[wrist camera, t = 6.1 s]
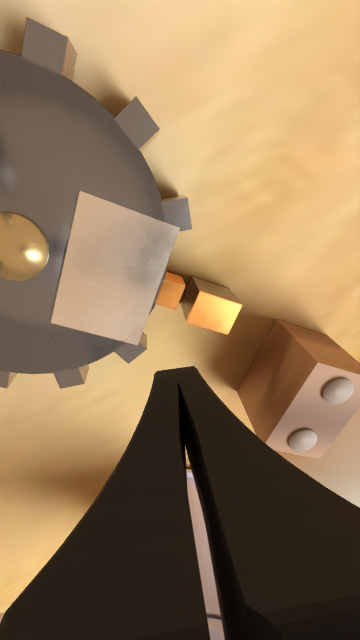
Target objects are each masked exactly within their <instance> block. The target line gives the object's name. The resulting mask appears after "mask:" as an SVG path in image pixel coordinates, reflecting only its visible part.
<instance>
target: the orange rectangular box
mask: <svg viewBox="0 0 360 640" xmlns="http://www.w3.org/2000/svg"><path fill="white" fill-rule="evenodd" d="M181 306H182V309H183V312H184V316H185V319H186V322H187V323H190V324H193V325H196V326H200V327H203V328H207V329H210V330H213V331H217V332H220V333H223V334H227V335H228V333H229V331H230V329H231V327H232V325H233V323H234V321H235V319H236V317H237V315H238V313H239V311H240V309H241V307H242V304H241V303H240V302H239V301H238V299H237V298H236V297H235V295H234V294H233V293H232V292H231V290H230V289H229V288H226V287H223V286H221V285H218V284H215V283H212V282H209V281H206V280H203V279H200V278H197V277H194V276H192V277H191V279H190V282H189V284H188V287H187V289H186V292H185V294H184V297H183V299H182V302H181Z"/></svg>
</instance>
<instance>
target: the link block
mask: <svg viewBox="0 0 360 640" xmlns="http://www.w3.org/2000/svg"><path fill="white" fill-rule="evenodd" d="M237 392H238V395H239V397H240V399H241V401H242V404H243V406H244V408H245V410H246V413H247V415H248V417H249V419H250V422H251V424H252V426H253V428H254V431H255V433H256V435H257V437H259V438H260V439H261V440H262V441H263V442H265V443H266V444H267V445H268V446H269V447H271V448H272V449H273V450H275V451H281V452H286V453H291V454H297V455H301V456H307V457H312V458H318V459H320V458H321V456H322V455H323V454H324V452H325V451H326V449H327V448H328V447H329V446H330V445H331V443H332V442H333V441H334V439H335V438H336V437H337V435H338V434H339V433H340V431H341V430H342V429H343V428H344V426H345V425H346V424H347V422H348V421H349V420H350V418H351V417H352V416H353V415H354V413H355V412H356V411H357V409H358V408H359V407H360V363H359V362H358V361H356V360H355V359H354V358H353V357H352V356H351V355H349V354H348V353H347V352H346V351H345V350H344V349H342V348H341V347H340V346H339V345H338V344H337V343H335V342H334V341H333V340H332V339H331V338H330V337H328V336H327V335H324V334H321V333H318V332H315V331H312V330H309V329H306V328H303V327H300V326H296V325H293V324H290V323H287V322H284V321H281V320H278V319H277V320H276V322H275V324H274V326H273V327H272V329H271V331H270V333H269V335H268V336H267V338H266V340H265V342H264V344H263V346H262V347H261V349H260V351H259V353H258V355H257V356H256V358H255V360H254V362H253V364H252V366H251V367H250V369H249V371H248V373H247V375H246V376H245V378H244V380H243V382H242V384H241V386H240V387H239V389H238V391H237Z"/></svg>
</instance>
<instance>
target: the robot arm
mask: <svg viewBox="0 0 360 640" xmlns="http://www.w3.org/2000/svg"><path fill="white" fill-rule="evenodd" d="M185 446H186V450H187V454H188V458H189V462H190V466H191V470H190V469H186V454H185ZM0 640H360V508H359V507H357V506H356V505H354V504H352V503H350V502H349V501H347V500H345V499H344V498H342V497H340V496H339V495H337V494H336V493H334V492H333V491H331V490H329V489H328V488H326V487H324V486H323V485H322V484H320V483H319V482H317V481H316V480H314V479H313V478H311V477H310V476H309V475H307V474H306V473H304V472H303V471H301V470H300V469H299V468H297V467H296V466H294V465H293V464H291V463H290V462H289V461H287V460H286V459H285V458H283V457H282V456H281V455H279V454H278V453H277V452H276V451H274V450H273V449H272V448H271V447H269V446H268V445H267V444H266V443H265V442H263V441H262V440H261V439H260V438H259V437H257V436H256V435H255V434H254V433H253V432H252V431H251V430H250V429H249V428H248V427H246V426H245V425H244V424H243V423H242V422H241V421H240V420H239V419H238V418H237V417H236V416H235V415H234V414H233V413H232V412H231V411H230V410H229V409H228V408H227V406H226V405H225V404H224V403H223V402H222V401H221V400H220V399H219V397H218V396H217V395H216V394H215V393H214V392H213V390H212V389H211V388H210V387H209V385H208V384H207V383H206V381H205V380H204V379H203V377H202V376H201V374H200V373H199V371H198V370H197V368H195V367H194V366H191V367H183V368H176V369H169V370H162V371H157V372H156V373H155V374H154V380H153V384H152V388H151V392H150V395H149V398H148V401H147V403H146V406H145V409H144V411H143V414H142V416H141V419H140V421H139V423H138V425H137V428H136V430H135V432H134V434H133V436H132V438H131V440H130V442H129V444H128V446H127V448H126V450H125V452H124V454H123V456H122V457H121V459H120V461H119V463H118V464H117V466H116V468H115V470H114V471H113V473H112V474H111V476H110V478H109V479H108V481H107V482H106V484H105V485H104V487H103V489H102V490H101V492H100V493H99V495H98V496H97V498H96V499H95V501H94V502H93V504H92V505H91V506H90V508H89V509H88V511H87V512H86V513H85V515H84V516H83V517H82V519H81V520H80V521H79V523H78V524H77V525H76V527H75V528H74V529H73V531H72V532H71V533H70V535H69V536H68V537H67V539H66V540H65V541H64V543H63V544H62V545H61V546H60V548H59V549H58V550H57V551H56V553H55V554H54V555H53V556H52V558H51V559H50V560H49V561H48V562H47V564H46V565H45V566H44V567H43V568H42V569H41V571H40V572H39V573H38V574H37V575H36V576H35V578H34V579H33V580H32V581H31V582H30V584H29V585H28V586H27V587H26V588H25V589H24V591H23V592H22V593H21V594H20V595H19V597H18V598H17V599H16V600H15V601H14V602H13V603H12V605H11V606H10V607H9V608H8V609H7V611H6V612H5V614H4V616H3V618H2V621H1V623H0Z"/></svg>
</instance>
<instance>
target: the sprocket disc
mask: <svg viewBox="0 0 360 640" xmlns="http://www.w3.org/2000/svg"><path fill="white" fill-rule="evenodd" d="M76 56H77V53H76V52H75V50H74V48H73V46H72V44H71V42H70V40H69V38H68V37H66V36H64V35H62V34H60V33H58V32H56V31H54V30H52V29H50V28H48V27H46V26H44V25H42V24H40V23H38V22H36V21H34V20H32V19H30V18H28V17H27V18H26V26H25V34H24V41H23V49H22V56H19V55H17V54H14V53H9V52H5V51H1V50H0V387H3V388H8V386H9V385H10V383H11V382H12V380H13V378H14V377H15V375H16V374H17V373H27V374H41V373H54V375H55V378H56V380H57V382H58V384H59V387H60V389H61V388H66V387H70V386H75V385H80V384H84V383H85V380H86V376H87V373H88V369H89V367H88V364H90V363H92V362H95V361H97V360H99V359H101V358H103V357H105V356H107V355H109V354H110V353H112V352H113V351H114V352H115V353H117V354H118V355H119V356H120V357H121V358H122V359H124V360H125V361H126V362H127V363H128V364H129V363H130V362H131V361H132V360H134V359H135V358H136V357H137V356H139V355H140V354H141V353H143V352H144V351H145V350H146V349H147V338H146V335H145V334H144V333H143V329H144V327H145V324H146V321H147V318H148V316H149V315H150V313H151V311H152V310H153V308H154V306H155V304H158V305H161V306H165V307H168V308H171V309H175V310H176V309H177V306H178V304H179V301H180V299H181V296H182V294H183V291H184V289H185V284H184V281H183V279H182V277H181V276H178V275H175V274H172V273H169V272H166V269H167V263H168V260H169V257H170V254H171V251H172V249H173V246H174V243H175V240H176V238H177V235H178V232H179V231H184V230H189V229H192V226H191V219H190V212H189V205H188V198H187V197H185V196H183V195H182V196H177V197H172V198H166V199H162V198H161V195H160V192H159V190H158V187H157V184H156V182H155V179H154V176H153V174H152V172H151V170H150V168H149V167H148V165H147V163H146V161H145V159H144V157H143V155H142V153H141V152H140V151H141V150H142V149H143V148H144V147H145V146H146V145H147V144H148V143H149V142H150V141H151V140H152V139H153V138H154V137H156V136H157V135H158V132H159V130H160V129H159V128H158V126H157V125H156V123H155V122H154V121H153V119H152V118H151V116H150V115H149V114H148V112H147V111H146V109H145V108H144V107H143V105H142V104H141V102H140V101H139V100H138V98H137V97H135V98H134V99H133V100H132V101H131V102H130V103H129V104H128V105H127V106H126V107H125V108H124V109H123V110H122V111H121V112H120V113H119V114H118V115H117V116H116V117H115V118H114V116H113V115H112V114H111V113H110V112H109V111H108V110H107V109H106V108H105V107H103V106H102V105H101V104H100V103H99V102H98V101H97V100H96V99H95V98H94V97H93V96H91V95H90V94H89V93H88V92H86V91H85V90H83V89H82V88H81V87H79V86H78V85H76V84H75V83H74V82H72V77H73V72H74V67H75V61H76Z"/></svg>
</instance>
